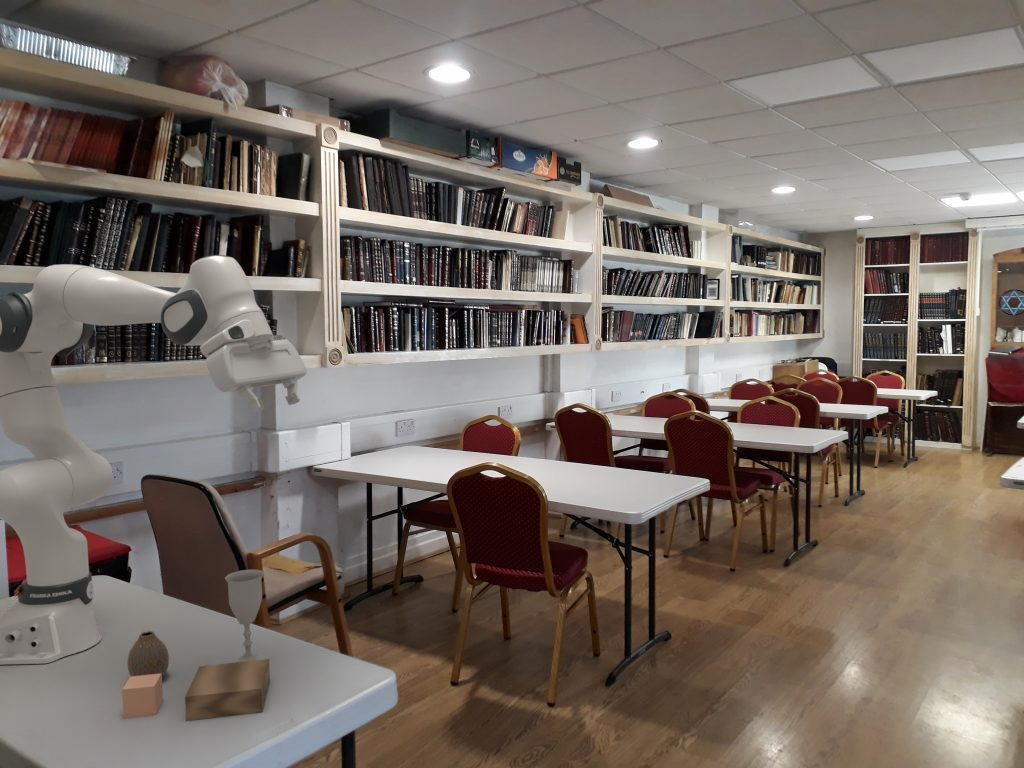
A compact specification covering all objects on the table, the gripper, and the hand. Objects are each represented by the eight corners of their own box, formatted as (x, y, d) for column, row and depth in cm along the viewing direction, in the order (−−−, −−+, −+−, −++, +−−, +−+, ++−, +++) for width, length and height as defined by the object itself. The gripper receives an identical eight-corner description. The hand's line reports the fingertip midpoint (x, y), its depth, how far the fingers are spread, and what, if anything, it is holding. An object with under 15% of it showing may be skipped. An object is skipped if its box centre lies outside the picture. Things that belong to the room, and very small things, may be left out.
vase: (143, 691, 138) (140, 643, 137) (120, 683, 142) (118, 636, 141) (177, 676, 144) (175, 630, 143) (155, 668, 147) (152, 624, 147)
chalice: (255, 678, 142) (250, 582, 141) (221, 675, 144) (217, 580, 142) (275, 661, 149) (270, 570, 148) (243, 659, 151) (238, 568, 150)
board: (186, 720, 127) (185, 697, 127) (200, 688, 139) (199, 666, 138) (262, 711, 129) (261, 688, 129) (270, 680, 141) (269, 659, 141)
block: (123, 718, 128) (121, 689, 128) (132, 704, 133) (130, 676, 133) (155, 715, 129) (154, 686, 129) (163, 701, 134) (161, 673, 134)
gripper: (273, 342, 149) (302, 406, 148) (191, 348, 131) (224, 422, 130) (296, 327, 147) (326, 392, 146) (216, 331, 128) (249, 406, 127)
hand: (277, 406), depth 138 cm, fingers open, 8 cm apart
